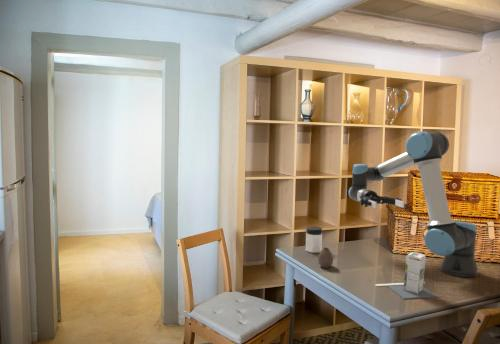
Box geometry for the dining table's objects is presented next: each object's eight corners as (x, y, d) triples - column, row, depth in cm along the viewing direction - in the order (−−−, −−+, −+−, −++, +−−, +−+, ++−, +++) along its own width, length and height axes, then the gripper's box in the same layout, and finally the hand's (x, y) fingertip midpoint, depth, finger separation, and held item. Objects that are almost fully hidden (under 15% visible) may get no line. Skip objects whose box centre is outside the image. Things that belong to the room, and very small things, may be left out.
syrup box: (408, 286, 165) (410, 251, 164) (423, 290, 161) (425, 254, 160) (403, 290, 161) (405, 254, 159) (418, 294, 157) (420, 257, 156)
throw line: (423, 282, 171) (423, 281, 171) (425, 283, 169) (425, 283, 169) (375, 285, 167) (375, 284, 167) (376, 286, 165) (376, 285, 165)
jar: (308, 253, 209) (309, 230, 208) (302, 248, 217) (303, 226, 216) (324, 252, 211) (325, 229, 210) (318, 247, 219) (319, 226, 218)
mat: (418, 285, 168) (418, 284, 167) (437, 297, 156) (437, 296, 156) (387, 287, 165) (387, 286, 165) (403, 299, 153) (403, 298, 153)
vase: (327, 263, 193) (328, 245, 192) (335, 268, 187) (336, 249, 186) (315, 264, 191) (315, 246, 190) (322, 269, 184) (323, 250, 184)
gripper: (390, 204, 206) (414, 212, 185) (343, 205, 201) (363, 213, 180) (390, 189, 205) (415, 196, 184) (344, 190, 200) (364, 197, 179)
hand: (389, 205), depth 182 cm, fingers open, 13 cm apart
